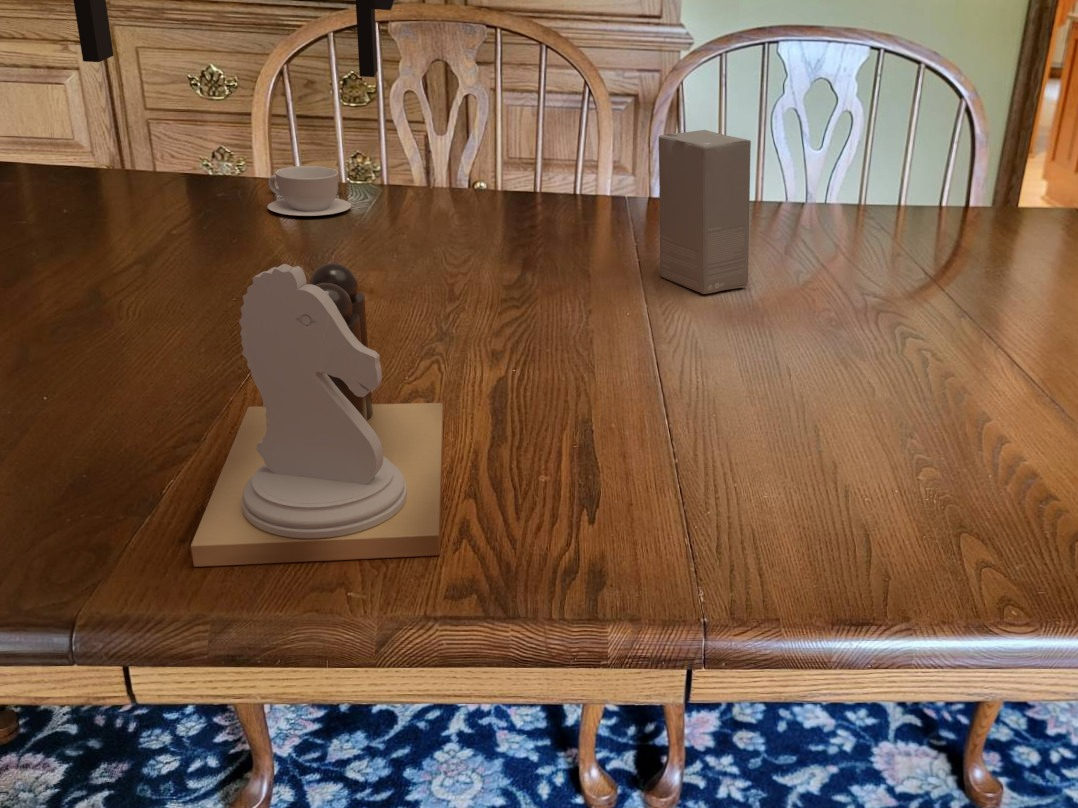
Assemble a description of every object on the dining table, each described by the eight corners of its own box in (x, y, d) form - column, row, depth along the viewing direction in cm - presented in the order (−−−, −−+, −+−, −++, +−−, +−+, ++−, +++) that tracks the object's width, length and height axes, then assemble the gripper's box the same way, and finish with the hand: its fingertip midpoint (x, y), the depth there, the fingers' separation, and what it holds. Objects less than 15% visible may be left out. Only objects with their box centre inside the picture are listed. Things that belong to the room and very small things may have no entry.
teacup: (364, 204, 142) (361, 167, 140) (331, 222, 133) (328, 183, 131) (289, 197, 143) (286, 160, 141) (252, 215, 134) (248, 176, 132)
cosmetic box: (748, 288, 120) (761, 140, 113) (696, 298, 116) (706, 144, 109) (701, 268, 126) (711, 126, 119) (650, 276, 122) (656, 129, 115)
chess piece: (370, 548, 64) (350, 303, 58) (211, 528, 65) (174, 284, 59) (429, 473, 73) (418, 253, 67) (288, 457, 74) (263, 238, 68)
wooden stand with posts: (193, 567, 64) (160, 360, 58) (250, 424, 82) (228, 255, 76) (440, 556, 67) (431, 357, 61) (443, 420, 84) (436, 256, 79)
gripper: (469, -370, 56) (473, 69, 65) (-85, -445, 51) (5, 43, 60) (470, -406, 49) (474, 89, 58) (-168, -497, 44) (-52, 61, 53)
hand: (237, 67), depth 59 cm, fingers open, 13 cm apart
